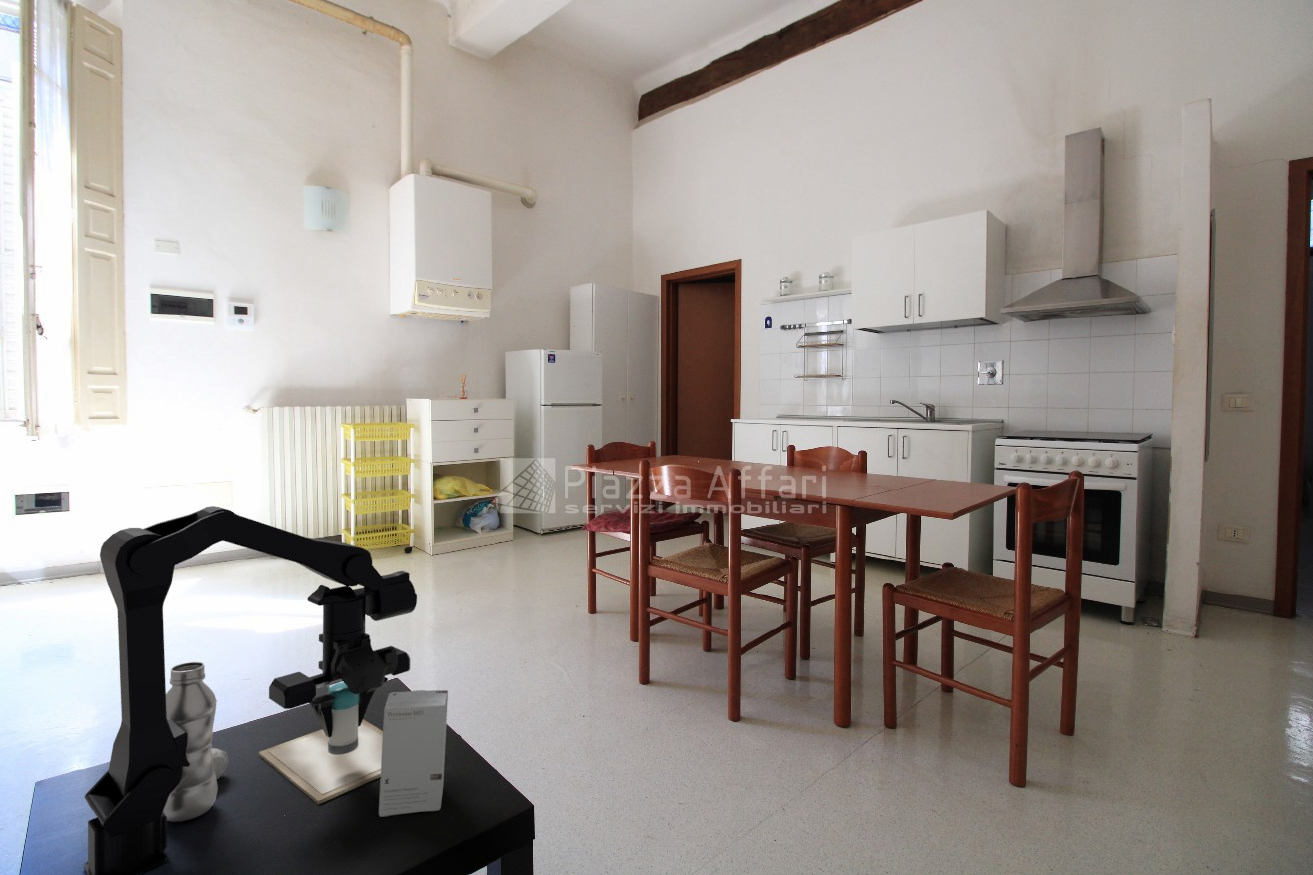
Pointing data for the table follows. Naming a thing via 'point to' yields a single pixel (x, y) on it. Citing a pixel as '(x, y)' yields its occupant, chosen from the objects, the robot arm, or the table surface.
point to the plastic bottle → (192, 741)
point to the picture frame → (328, 763)
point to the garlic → (219, 761)
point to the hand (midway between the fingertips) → (343, 730)
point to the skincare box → (413, 752)
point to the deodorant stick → (343, 720)
